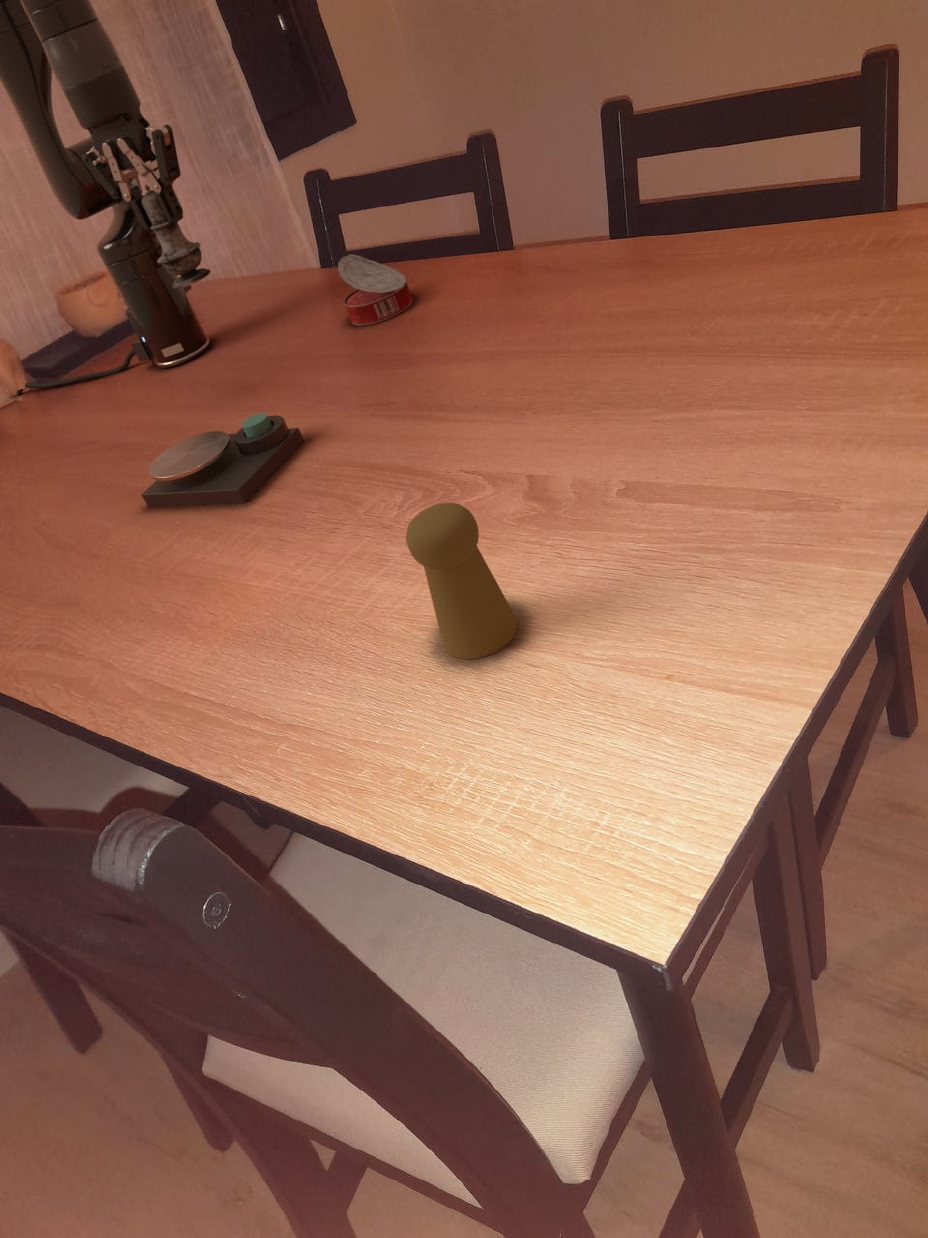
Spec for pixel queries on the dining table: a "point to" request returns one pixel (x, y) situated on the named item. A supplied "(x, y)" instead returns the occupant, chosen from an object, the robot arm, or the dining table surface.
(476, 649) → the pawn piece
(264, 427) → the tare button
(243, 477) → the scale
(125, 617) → the dining table surface
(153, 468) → the scale pan
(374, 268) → the canned food
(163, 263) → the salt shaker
